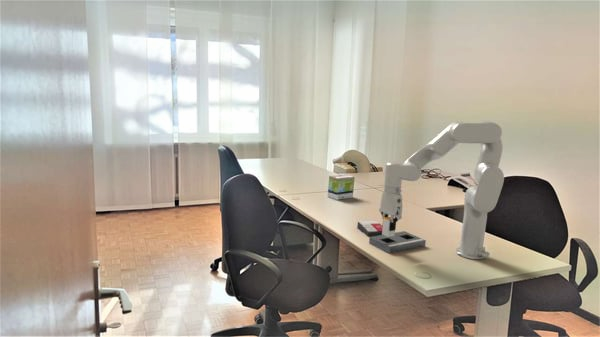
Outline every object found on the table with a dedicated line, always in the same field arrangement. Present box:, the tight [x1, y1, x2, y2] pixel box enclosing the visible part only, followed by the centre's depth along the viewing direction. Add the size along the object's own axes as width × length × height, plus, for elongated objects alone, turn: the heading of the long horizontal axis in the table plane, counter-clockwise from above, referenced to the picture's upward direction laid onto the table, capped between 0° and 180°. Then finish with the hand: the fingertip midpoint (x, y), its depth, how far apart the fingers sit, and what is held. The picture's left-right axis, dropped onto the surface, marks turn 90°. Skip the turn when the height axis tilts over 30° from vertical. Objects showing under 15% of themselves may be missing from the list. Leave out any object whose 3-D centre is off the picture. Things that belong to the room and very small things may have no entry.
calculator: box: [356, 220, 383, 238], centre depth 215 cm, size 11×4×15 cm
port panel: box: [368, 230, 427, 255], centre depth 197 cm, size 14×22×4 cm, turn 120°
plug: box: [382, 216, 396, 237], centre depth 193 cm, size 4×4×8 cm
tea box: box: [327, 173, 355, 201], centre depth 283 cm, size 15×10×15 cm, turn 129°
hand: (388, 228), depth 193 cm, fingers closed on plug, 4 cm apart
